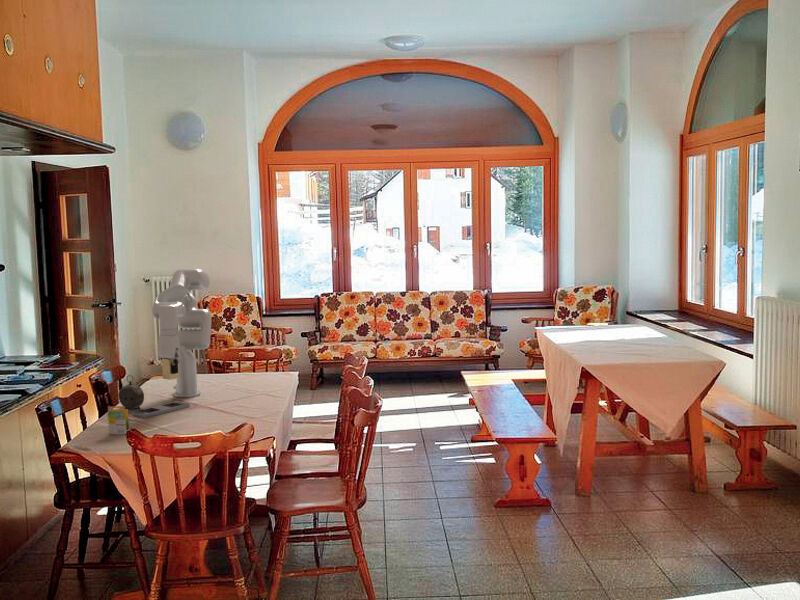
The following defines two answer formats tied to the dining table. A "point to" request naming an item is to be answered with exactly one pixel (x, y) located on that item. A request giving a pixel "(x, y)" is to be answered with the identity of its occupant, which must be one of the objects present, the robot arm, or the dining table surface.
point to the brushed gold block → (168, 369)
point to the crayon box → (118, 420)
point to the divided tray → (160, 409)
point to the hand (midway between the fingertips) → (170, 372)
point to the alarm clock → (131, 395)
